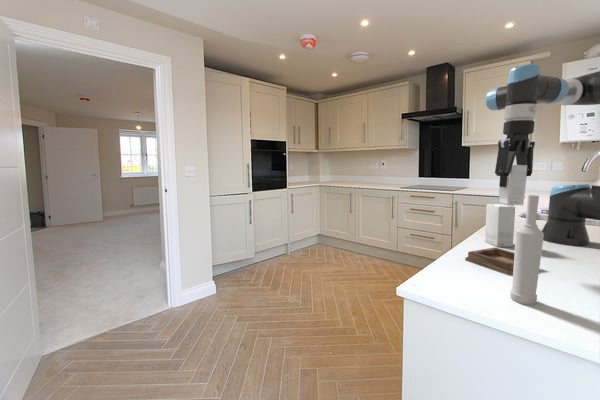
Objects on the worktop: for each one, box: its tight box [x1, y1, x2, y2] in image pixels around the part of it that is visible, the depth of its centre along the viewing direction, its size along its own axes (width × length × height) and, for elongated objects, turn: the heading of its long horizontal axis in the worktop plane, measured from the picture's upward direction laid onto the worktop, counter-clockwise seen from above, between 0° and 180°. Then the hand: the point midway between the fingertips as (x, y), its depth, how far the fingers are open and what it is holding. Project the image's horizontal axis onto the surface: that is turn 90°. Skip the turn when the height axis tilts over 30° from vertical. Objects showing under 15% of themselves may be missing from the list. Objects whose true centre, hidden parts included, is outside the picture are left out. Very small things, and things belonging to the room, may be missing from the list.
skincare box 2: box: [499, 164, 527, 206], centre depth 95 cm, size 6×4×12 cm
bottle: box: [509, 194, 544, 306], centre depth 72 cm, size 5×5×25 cm
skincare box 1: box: [484, 203, 516, 248], centre depth 120 cm, size 8×7×16 cm
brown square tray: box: [464, 247, 515, 276], centre depth 98 cm, size 14×14×3 cm
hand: (511, 197), depth 95 cm, fingers closed on skincare box 2, 7 cm apart
